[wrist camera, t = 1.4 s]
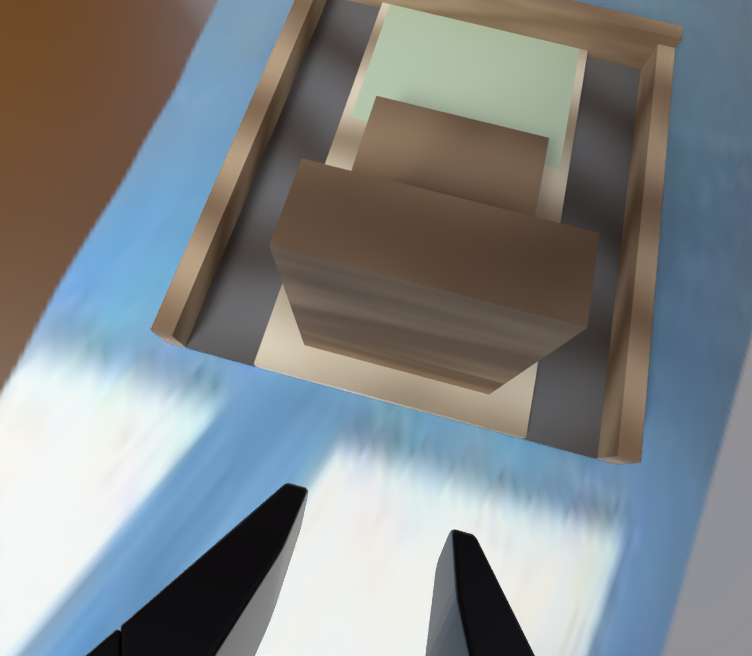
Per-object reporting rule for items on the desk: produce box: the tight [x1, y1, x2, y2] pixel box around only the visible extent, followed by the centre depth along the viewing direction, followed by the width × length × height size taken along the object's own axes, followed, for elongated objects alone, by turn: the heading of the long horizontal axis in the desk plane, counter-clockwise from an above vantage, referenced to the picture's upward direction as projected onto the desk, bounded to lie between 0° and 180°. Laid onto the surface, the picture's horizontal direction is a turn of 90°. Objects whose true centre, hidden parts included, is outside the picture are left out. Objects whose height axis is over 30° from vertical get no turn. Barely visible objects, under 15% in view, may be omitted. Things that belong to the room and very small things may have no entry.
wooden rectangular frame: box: [151, 0, 683, 464], centre depth 25 cm, size 25×22×3 cm
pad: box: [351, 4, 580, 168], centre depth 28 cm, size 9×12×1 cm
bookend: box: [269, 96, 600, 394], centre depth 20 cm, size 13×9×10 cm
